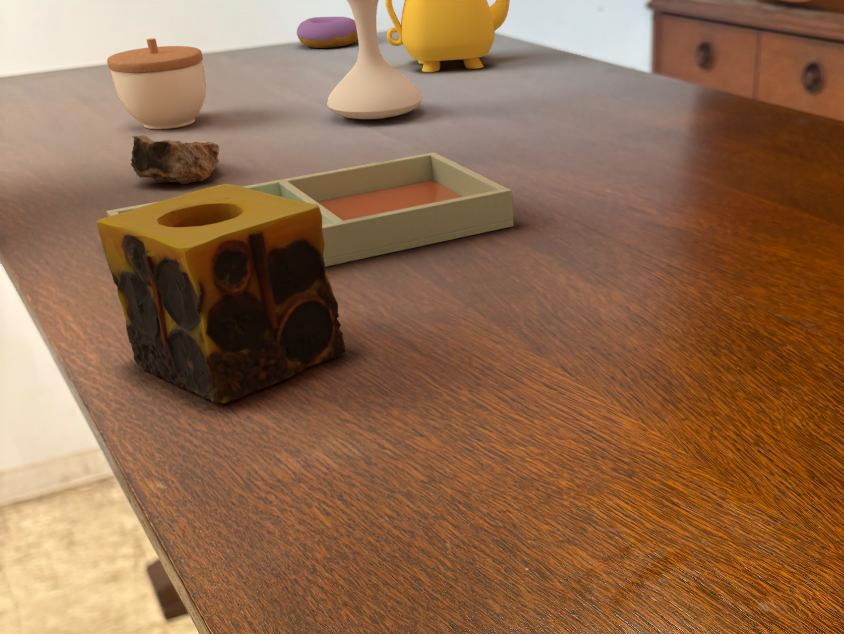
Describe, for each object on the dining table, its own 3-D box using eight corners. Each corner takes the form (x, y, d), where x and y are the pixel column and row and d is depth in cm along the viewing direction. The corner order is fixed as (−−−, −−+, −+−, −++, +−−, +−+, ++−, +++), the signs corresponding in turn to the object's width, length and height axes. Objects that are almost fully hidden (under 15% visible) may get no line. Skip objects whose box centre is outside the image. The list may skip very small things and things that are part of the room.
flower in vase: (385, 100, 137) (358, -132, 123) (443, 112, 130) (422, -132, 116) (298, 121, 130) (260, -124, 116) (356, 135, 123) (322, -124, 109)
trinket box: (191, 108, 137) (175, 27, 132) (230, 122, 130) (213, 37, 125) (109, 124, 132) (88, 40, 127) (144, 139, 125) (124, 51, 120)
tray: (115, 246, 93) (106, 210, 91) (437, 184, 105) (434, 151, 103) (157, 302, 81) (147, 262, 80) (513, 226, 93) (511, 190, 92)
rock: (201, 191, 106) (244, 145, 113) (168, 134, 103) (215, 90, 109) (133, 209, 110) (179, 163, 116) (99, 154, 106) (149, 111, 113)
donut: (295, 48, 169) (290, 14, 167) (302, 52, 177) (298, 19, 176) (359, 45, 169) (355, 10, 167) (364, 48, 178) (360, 15, 176)
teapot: (387, 60, 160) (377, -38, 153) (521, 50, 163) (516, -46, 155) (393, 78, 149) (382, -26, 142) (536, 67, 151) (532, -36, 144)
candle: (349, 355, 72) (327, 205, 66) (221, 411, 66) (185, 250, 60) (258, 320, 78) (230, 178, 72) (132, 368, 72) (91, 217, 66)
